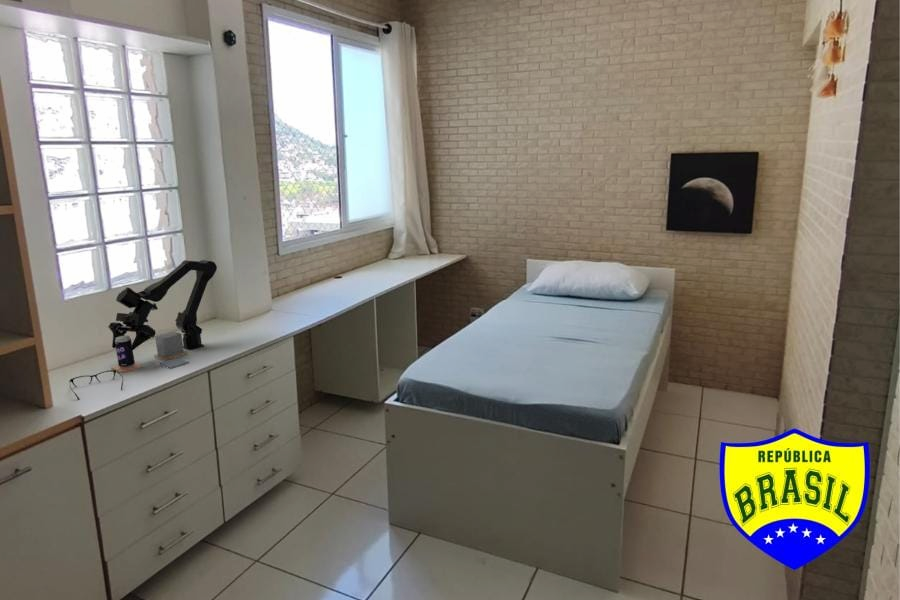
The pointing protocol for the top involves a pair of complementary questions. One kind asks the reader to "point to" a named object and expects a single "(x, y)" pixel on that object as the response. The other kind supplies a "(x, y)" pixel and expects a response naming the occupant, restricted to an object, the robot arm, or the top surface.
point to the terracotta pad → (126, 368)
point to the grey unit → (169, 346)
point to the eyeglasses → (91, 379)
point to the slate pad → (174, 363)
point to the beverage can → (124, 351)
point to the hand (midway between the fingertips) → (122, 348)
